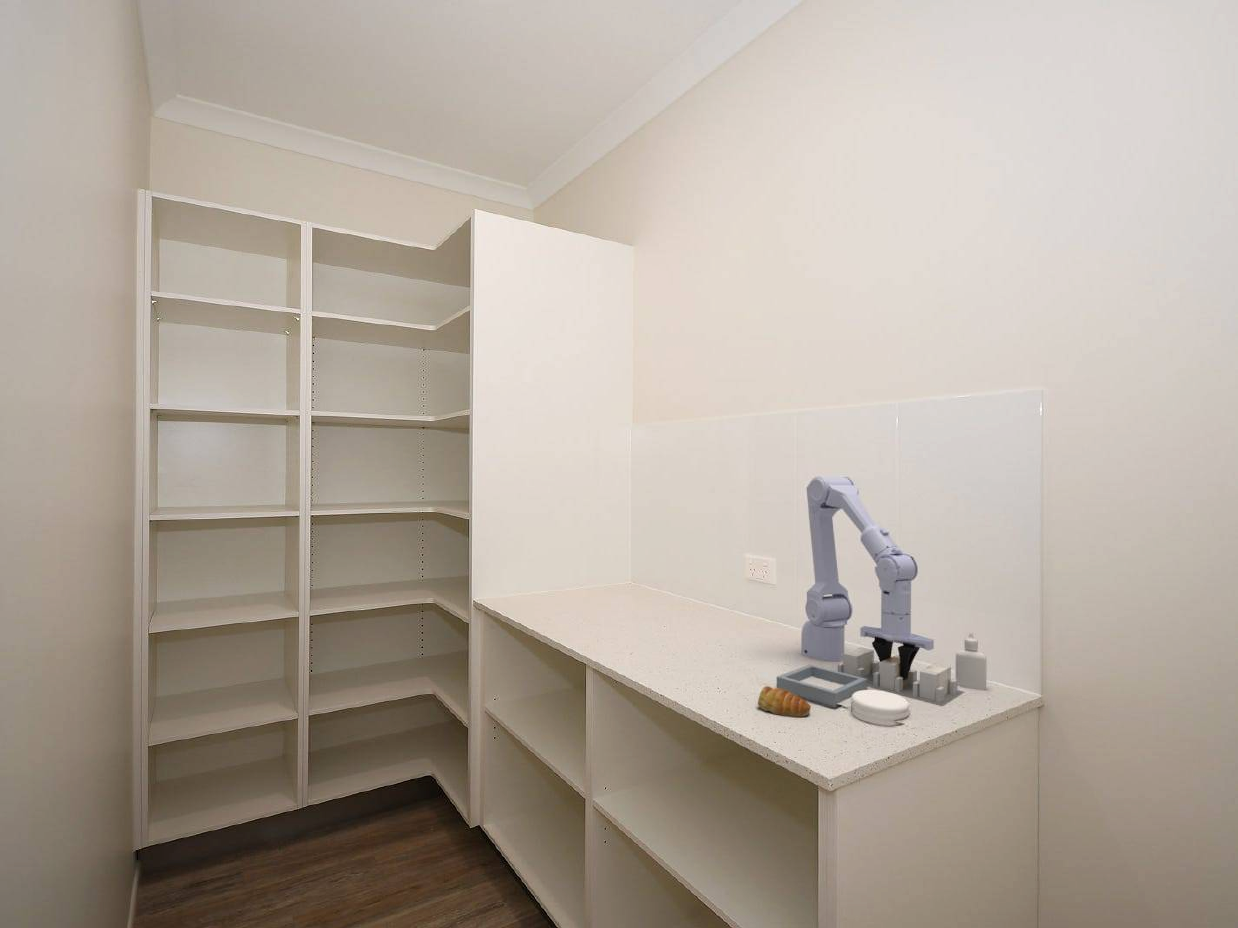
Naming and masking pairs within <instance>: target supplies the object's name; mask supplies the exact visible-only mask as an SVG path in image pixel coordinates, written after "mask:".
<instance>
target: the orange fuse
mask: <svg viewBox="0 0 1238 928" xmlns="http://www.w3.org/2000/svg"><path fill="white" fill-rule="evenodd" d="M879 662H880V661H879ZM911 668H912V666H911V667H910V670H909V671H911ZM897 677H900V657H899V654H895V655H892V656H891V657H890V658H888V659H886V660H883V661H881V662H880V687H884V688H888V689H892V690H895V678H897ZM907 683H909V674H908V679H906V680H904V681H903V685H905V684H907Z"/></svg>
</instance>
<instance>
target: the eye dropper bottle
mask: <svg viewBox="0 0 1238 928" xmlns="http://www.w3.org/2000/svg"><path fill="white" fill-rule="evenodd" d="M978 644H979V641H978V639H977V638H975V635H974V633H973V632H969V633H968V637H966V638H964V648H963V649H959V650H957V652H956V653H955V679H956V680H958V682H957V687H962V688H967V689H971V690H972V689H973V690H980V691H986V690H987V673H988V672H987V663H988V662H987V655H985V654H984V653H983V652H981V651H980V650H979V651H978V649H979V645H978Z"/></svg>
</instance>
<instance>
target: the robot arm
mask: <svg viewBox="0 0 1238 928" xmlns="http://www.w3.org/2000/svg"><path fill="white" fill-rule="evenodd" d="M806 498H807V507H808V510H807V511H808V521H809V531H810V542H811V543H810V544H811V550H812V551H811V552H812V561H813V573H814V582H815V583H814V584H813V585H812V586H811V587H810V588H809V589H808V590H807V591H806V603H805V607H804V608H805V614H806V617H807V619H808V620H807V621H805V622H804V624H803V626H802V628H801V634H800V635H801V638H800V639H801V641H800V642H801V643H800V646H801V647H800V648H801V650H800V651H801V652H800V653H801V654H800V655H801V656H804V657H808V658H811V659H815V660H818V661H822V662H827V663H828V662H829V663H842V662H843V654H844V653H845V626H847V625H848V621H849V620H850V619H851V618H852V617H853V616H852V615H853V605H852V602H851V600H850V598H849V593H848V591H849V590H848V589H847V588H845V586H843V585H842V584H841V583H840V582H839V581H840V580H839V579H840V578H839V572H838V570H839V569H838V562H837V552H836V551H837V550H836V542H835V540H836V539H835V532H834V524H833V523H834V522H833V518H834V516H835V515H836V513H838V512H839V511H840V510H842V511H843V512H844V513H845V514H846V515H847V517H848V518H849V519H850V521H851V522H852V523H853V524H854V526H856V528H857V529H858V530H859V532H860V533H861V535H860V542H861V544H862V545H863V547H864V548H865V549H866V551H867V552H868V554H869V556H870V557H871V559H872V560H873V561H874V563H875V564H876V566H874V571H875V572H874V573H875V575H876V577H877V579H878V583H879V584H878V587H879V588H880V590H881V598H880V599H881V604H880V608H881V609H880V612H881V613H880V615H881V616H880V618H881V619H880V627H872V626H867V625H864V626H861V627H860V628H859V629H860V630H859V632H860V637H861V638H863V637H864V638H866V637H867V638H870V639H871V638H872V639H874V640H873V641H872V642H871V645H872V647H873V650H874V652H875V653H876V655H877V657H878V660H879V662H881V661H883V660H886V659H888V658H890V657H892V652H893V645H894V643H896V644H901V645H900V646H898V647H897V650H898V651H897V652H898V655H899V657H900V677H903V681H904V680H906V679H908V674H909V670H910V667H911V668H912V664H913V662H914V659H915V657H916V656H917V654H918V652H919V651H920V649H924V650H926V651H931V650H932V651H933V650H934V644H935V643H934V640H935V639H934V638H928V637H926V636H922V635H918V634H915V633H912V630H911V629H912V628H911V627H912V625H911V624H912V581H914V580H915V579H916V577H917V576H918V573H919V572H918V569H919V568H918V563H917V561H916V560H915V557H914V556H913V555H911V554H909V553H905V552H904V550H901V549H900V547H899V546H898V545H897V544H896V542H895V540H893V538H892V537H891V535H890V532H889V530H888V529H887V528H885V527H883V526H882V525H876V524H875V521H874V520H873V518H872V517H871V515H870V514H869V512H868V510H867V508H866V506H865V505H864V504H863V501H862V500H861V498H860V497H859V487H858V486H857V485H856V483H855V481H854V480H853V479H852V478H850V477H849V476H843V477H835V476H834V477H829V476H828V477H826V476H825V477H823V476H815V477H813V478H812V479H811V480H810V482H809V483H808V485H807V486H806Z"/></svg>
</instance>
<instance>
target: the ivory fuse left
mask: <svg viewBox="0 0 1238 928" xmlns="http://www.w3.org/2000/svg"><path fill="white" fill-rule="evenodd" d="M874 659H875V649H871V648H867V647H862V646H860V647H857V648H854V649H852V650H849V651H847V652H844V654H843V661H842V663H843V673H846V674H850V675H854V676H857V669H859V668H861V667H862V668H865V676H867V675H869V674H872V663H873V662H875V661H874Z"/></svg>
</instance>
